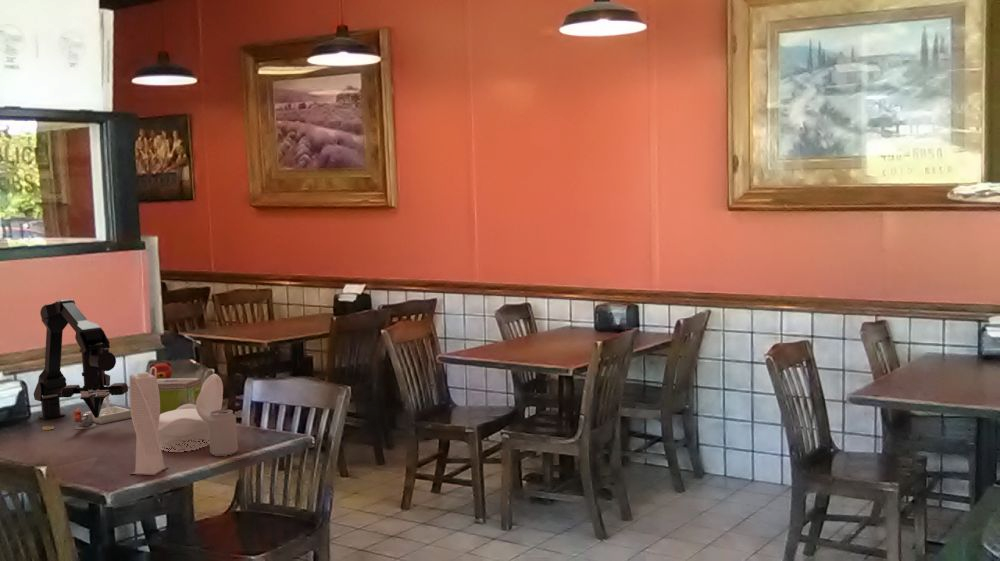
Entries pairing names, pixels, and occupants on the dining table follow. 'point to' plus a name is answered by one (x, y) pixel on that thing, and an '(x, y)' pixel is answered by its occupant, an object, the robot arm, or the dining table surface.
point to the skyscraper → (146, 422)
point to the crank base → (86, 426)
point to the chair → (191, 417)
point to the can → (222, 433)
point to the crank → (82, 418)
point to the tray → (112, 415)
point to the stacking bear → (162, 370)
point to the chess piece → (107, 406)
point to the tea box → (178, 392)
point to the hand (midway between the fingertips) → (96, 417)
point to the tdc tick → (47, 427)
